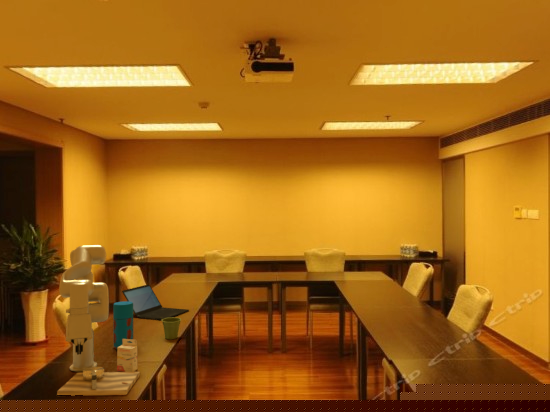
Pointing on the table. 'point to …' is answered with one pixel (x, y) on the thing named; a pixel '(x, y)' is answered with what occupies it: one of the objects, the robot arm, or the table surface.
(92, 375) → the small saucepan
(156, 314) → the laptop
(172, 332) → the plant pot
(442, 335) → the table surface
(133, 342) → the ink cartridge box
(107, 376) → the base plate
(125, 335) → the thermos
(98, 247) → the robot arm
